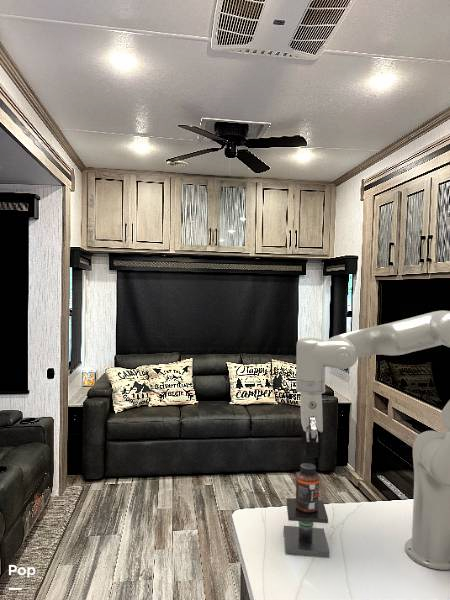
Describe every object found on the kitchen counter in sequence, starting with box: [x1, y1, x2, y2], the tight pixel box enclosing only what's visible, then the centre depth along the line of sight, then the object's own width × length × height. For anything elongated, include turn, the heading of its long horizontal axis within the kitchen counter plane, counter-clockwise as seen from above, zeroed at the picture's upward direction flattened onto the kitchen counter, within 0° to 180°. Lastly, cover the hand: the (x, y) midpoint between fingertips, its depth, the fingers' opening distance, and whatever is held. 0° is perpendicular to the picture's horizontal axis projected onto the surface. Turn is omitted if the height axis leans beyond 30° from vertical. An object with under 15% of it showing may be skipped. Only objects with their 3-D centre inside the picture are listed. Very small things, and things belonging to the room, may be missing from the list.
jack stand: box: [283, 498, 331, 559], centre depth 117 cm, size 11×11×10 cm
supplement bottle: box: [295, 462, 320, 513], centre depth 117 cm, size 6×6×11 cm
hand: (309, 449), depth 117 cm, fingers open, 9 cm apart
